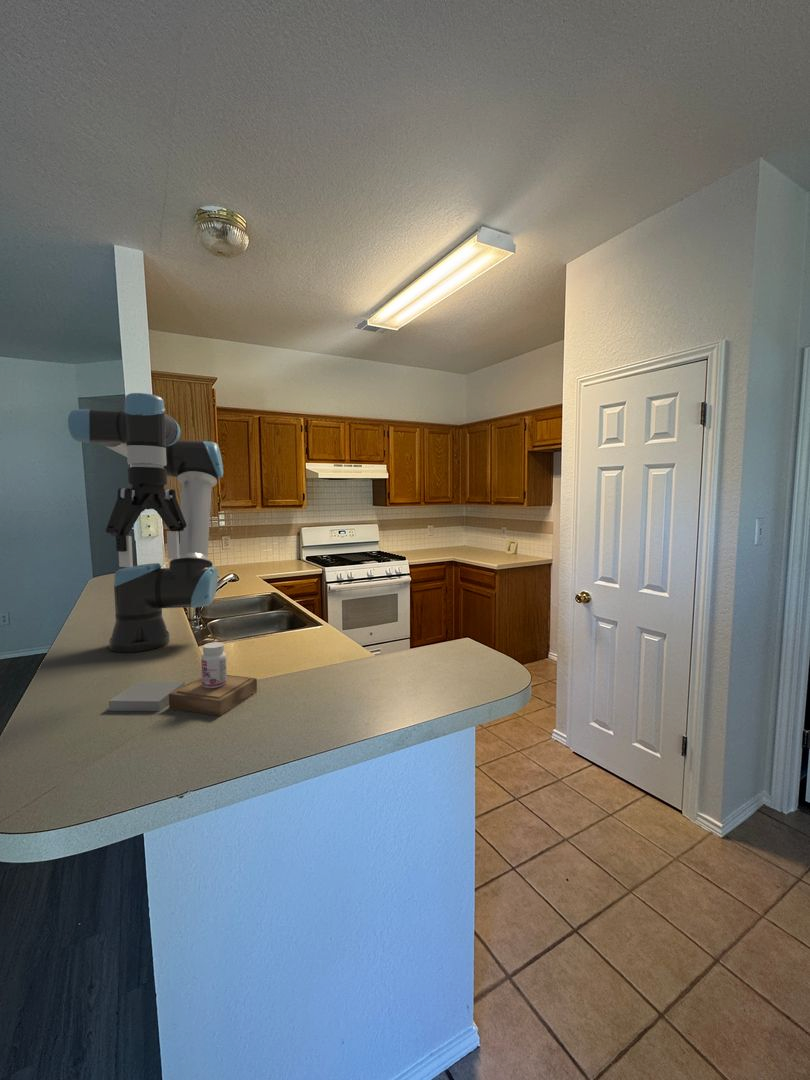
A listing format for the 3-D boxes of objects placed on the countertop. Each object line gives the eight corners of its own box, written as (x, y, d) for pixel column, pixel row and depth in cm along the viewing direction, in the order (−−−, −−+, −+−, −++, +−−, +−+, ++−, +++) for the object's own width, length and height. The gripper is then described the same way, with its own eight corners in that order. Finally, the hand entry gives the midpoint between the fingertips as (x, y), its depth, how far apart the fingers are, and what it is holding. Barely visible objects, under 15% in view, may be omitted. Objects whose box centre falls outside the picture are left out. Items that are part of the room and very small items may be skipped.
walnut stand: (210, 685, 102) (209, 671, 102) (256, 691, 99) (256, 677, 99) (169, 708, 91) (168, 692, 90) (220, 716, 87) (220, 699, 87)
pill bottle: (197, 688, 93) (195, 647, 92) (210, 679, 97) (209, 640, 97) (219, 689, 92) (217, 648, 91) (231, 680, 97) (230, 642, 96)
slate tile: (139, 690, 99) (138, 681, 99) (184, 690, 99) (184, 681, 99) (109, 710, 89) (108, 700, 89) (159, 711, 89) (159, 701, 89)
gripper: (174, 470, 113) (177, 554, 115) (81, 462, 89) (87, 570, 91) (200, 470, 111) (203, 556, 113) (112, 462, 87) (117, 571, 89)
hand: (151, 562), depth 102 cm, fingers open, 13 cm apart
